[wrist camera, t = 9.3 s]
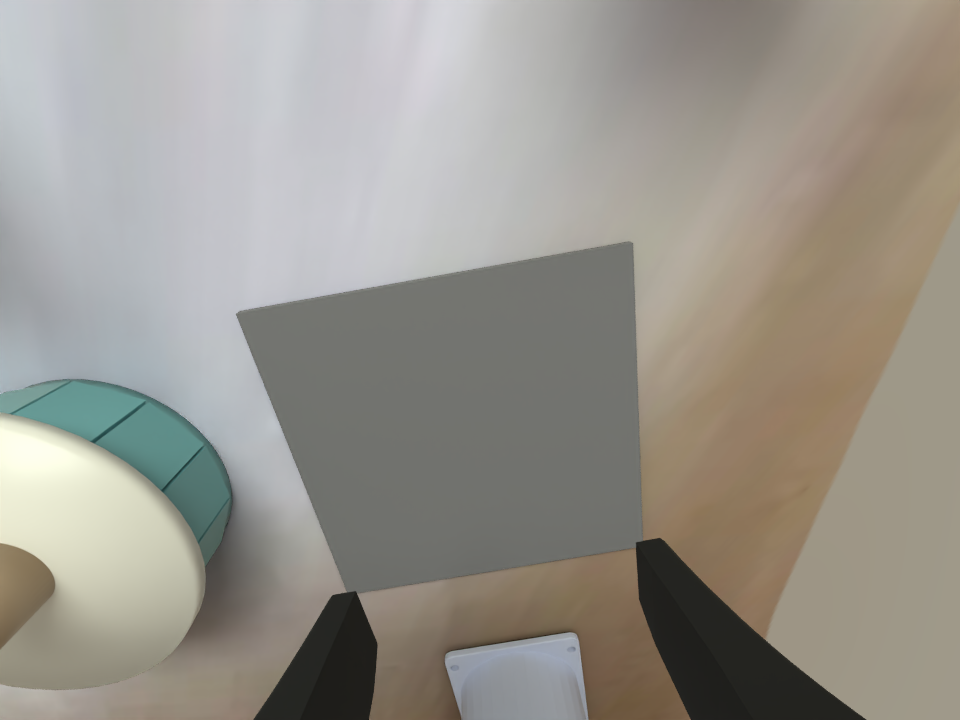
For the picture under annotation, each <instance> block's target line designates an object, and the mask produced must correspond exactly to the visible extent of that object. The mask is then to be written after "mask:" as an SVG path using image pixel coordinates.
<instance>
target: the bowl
mask: <svg viewBox="0 0 960 720" xmlns="http://www.w3.org/2000/svg"><path fill="white" fill-rule="evenodd" d="M0 412H1V413H6V414H11V415H16V416H21V417H25V418H29V419H32V420H36V421H39V422H42V423H46V424H49V425H52V426H55V427H57V428H60V429H62V430H65V431H68V432H70V433H73V434H75V435H78V436H80V437H82V438H84V439H86V440H88V441H90V442H92V443H94V444H96V445H98V446H100V447H102V448H104V449H106V450H107V451H109V452H110V453H112V454H114V455H115V456H117V457H119V458H120V459H122V460H123V461H125V462H127V463H128V464H129V465H131V466H132V467H133V468H135V469H136V470H137V471H139V472H140V473H141V474H143V475H144V476H145V477H147V478H148V479H149V480H150V481H151V482H152V483H153V484H154V485H155V486H156V487H157V488H159V489H160V490H161V491H162V492H163V493H164V494H165V495H166V496H167V497H168V499H169V500H170V501H171V502H172V503H173V504H174V506H175V507H176V508H177V509H178V510H179V511H180V513H181V514H182V516H183V517H184V519H185V520H186V522H187V523H188V525H189V526H190V528H191V530H192V532H193V534H194V536H195V538H196V540H197V542H198V544H199V547H200V550H201V553H202V557H203V560H204V565H205V567H206V565H207V563H208V562H209V560H210V559H211V557H212V556H213V554H214V552H215V551H216V549H217V548H218V546H219V545H220V543H221V541H222V537H223V532H224V529H225V527H226V525H227V523H228V520H229V517H230V514H231V507H232V492H231V486H230V482H229V477H228V475H227V472H226V470H225V467H224V465H223V463H222V461H221V459H220V458H219V456H218V454H217V452H216V451H215V450H214V448H213V447H212V446H211V444H210V443H209V442H208V440H207V439H206V438H205V437H204V436H203V435H202V434H201V433H200V432H199V431H198V430H197V429H196V428H195V427H194V426H193V425H192V424H191V423H189V422H188V421H187V420H186V419H185V418H183V417H182V416H181V415H179V414H178V413H176V412H175V411H173V410H172V409H170V408H169V407H167V406H165V405H164V404H162V403H160V402H158V401H156V400H155V399H153V398H150V397H148V396H146V395H143V394H141V393H139V392H137V391H134V390H131V389H128V388H124V387H121V386H118V385H114V384H109V383H105V382H100V381H91V380H82V379H63V380H55V381H47V382H43V383H39V384H35V385H31V386H29V387H26V388H24V389H20V390H15V391H9V392H4V393H2V394H0Z"/></svg>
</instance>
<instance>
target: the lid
mask: <svg viewBox="0 0 960 720" xmlns="http://www.w3.org/2000/svg"><path fill="white" fill-rule="evenodd" d="M205 585H206V574H205V565H204V560H203V557H202V553H201V550H200V547H199V544H198V542H197V540H196V538H195V536H194V534H193V532H192V530H191V528H190V526H189V525H188V523H187V522H186V520H185V519H184V517H183V516H182V514H181V513H180V511H179V510H178V509H177V508H176V507H175V506H174V504H173V503H172V502H171V501H170V500H169V499H168V497H167V496H166V495H165V494H164V493H163V492H162V491H161V490H160V489H159V488H157V487H156V486H155V485H154V484H153V483H152V482H151V481H150V480H149V479H148V478H147V477H145V476H144V475H143V474H141V473H140V472H139V471H137V470H136V469H135V468H133V467H132V466H131V465H129V464H128V463H127V462H125V461H123V460H122V459H120V458H119V457H117V456H115V455H114V454H112V453H110V452H109V451H107V450H106V449H104V448H102V447H100V446H98V445H96V444H94V443H92V442H90V441H88V440H86V439H84V438H82V437H80V436H78V435H75V434H73V433H70V432H68V431H65V430H62V429H60V428H57V427H55V426H52V425H49V424H46V423H42V422H39V421H36V420H32V419H29V418H25V417H21V416H16V415H11V414H6V413H1V412H0V684H1V685H7V686H12V687H21V688H30V689H46V690H68V689H83V688H91V687H99V686H103V685H108V684H112V683H117V682H120V681H123V680H126V679H129V678H132V677H134V676H137V675H139V674H141V673H143V672H145V671H147V670H149V669H151V668H152V667H154V666H155V665H157V664H159V663H160V662H162V661H163V660H164V659H165V658H166V657H168V656H169V655H170V654H171V653H172V652H173V651H174V650H175V649H176V648H177V646H178V645H179V644H180V643H181V641H182V640H183V639H184V637H185V635H186V634H187V632H188V630H189V629H190V627H191V625H192V623H193V622H194V620H195V618H196V616H197V614H198V612H199V610H200V608H201V605H202V602H203V598H204V595H205Z"/></svg>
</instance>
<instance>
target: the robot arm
mask: <svg viewBox="0 0 960 720" xmlns="http://www.w3.org/2000/svg"><path fill="white" fill-rule="evenodd" d="M636 555H637V572H638V589H639V600H640V603H641V606H642V609H643V612H644V614H645V617H646V620H647V623H648V626H649V628H650V631H651V634H652V637H653V639H654V642H655V644H656V647H657V649H658V651H659V653H660V655H661V657H662V659H663V662H664V664H665V666H666V668H667V670H668V672H669V674H670V676H671V679H672V681H673V683H674V685H675V687H676V689H677V691H678V693H679V695H680V698H681V700H682V702H683V704H684V706H685V708H686V710H687V712H688V714H689V716H690V719H691V720H866V719H865V718H863V717H862V716H861V715H859V714H858V713H856V712H855V711H854V710H852V709H851V708H850V707H848V706H847V705H846V704H844V703H843V702H842V701H840V700H839V699H838V698H836V697H835V696H834V695H832V694H831V693H830V692H828V691H827V690H826V689H824V688H823V687H822V686H820V685H819V684H818V683H817V682H815V681H814V680H813V679H812V678H810V677H809V676H808V675H806V674H805V673H804V672H803V671H801V670H800V669H799V668H798V667H797V666H795V665H794V664H793V663H791V662H790V661H789V660H788V659H787V658H785V657H784V656H783V655H782V654H781V653H779V652H778V651H777V650H776V649H775V648H774V647H772V646H771V645H770V644H769V643H768V642H767V641H766V640H765V639H763V638H762V637H761V636H760V635H759V634H758V633H756V632H755V631H754V630H753V629H752V628H751V627H750V626H749V625H748V624H746V623H745V622H744V621H743V620H742V619H741V618H740V617H739V616H738V615H737V614H736V613H735V612H733V611H732V610H731V609H730V608H729V607H728V606H727V605H726V604H725V603H724V602H723V601H722V600H721V599H720V598H719V597H718V596H717V595H716V594H714V593H713V592H712V591H711V590H710V589H709V588H708V587H707V586H706V585H705V584H704V583H703V582H702V581H701V580H700V579H699V578H698V576H697V575H696V574H695V573H694V572H693V571H692V570H691V569H690V568H689V567H688V566H687V565H686V564H685V563H684V562H683V561H682V560H681V559H680V558H679V557H678V556H677V554H676V553H675V552H674V551H673V550H672V549H671V548H670V547H669V546H668V544H667V543H666V542H665V541H664V540H662V539H661V538H657V539H652V540H646V541H640V542H636ZM376 659H377V641H376V639H375V637H374V634H373V632H372V629H371V627H370V624H369V622H368V619H367V617H366V615H365V612H364V610H363V607H362V605H361V602H360V600H359V597H358V595H357V593H356V591H353V592H347V593H341V594H336V595H332V597H331V598H330V599H329V601H328V603H327V604H326V606H325V608H324V609H323V611H322V613H321V614H320V616H319V618H318V619H317V621H316V623H315V624H314V626H313V628H312V629H311V631H310V633H309V634H308V636H307V638H306V639H305V641H304V643H303V644H302V646H301V647H300V649H299V651H298V652H297V654H296V656H295V657H294V659H293V660H292V662H291V663H290V665H289V667H288V668H287V670H286V671H285V673H284V675H283V676H282V678H281V679H280V681H279V682H278V684H277V686H276V687H275V689H274V690H273V692H272V693H271V695H270V696H269V698H268V699H267V701H266V702H265V703H264V705H263V706H262V708H261V709H260V711H259V712H258V714H257V715H256V717H255V718H254V720H369V715H370V710H371V704H372V698H373V693H374V683H375V672H376ZM445 665H446V669H447V672H448V675H449V678H450V682H451V685H452V688H453V691H454V695H455V698H456V701H457V704H458V708H459V711H460V714H461V718H462V720H588V712H587V704H586V696H585V687H584V679H583V671H582V663H581V655H580V646H579V640H578V637H577V635H576V634H575V633H572V632H568V633H562V634H556V635H549V636H543V637H537V638H531V639H524V640H518V641H512V642H506V643H499V644H493V645H487V646H481V647H474V648H468V649H462V650H456V651H451V652H448V653H447V654H446V655H445Z"/></svg>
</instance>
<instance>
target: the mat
mask: <svg viewBox="0 0 960 720" xmlns="http://www.w3.org/2000/svg"><path fill="white" fill-rule="evenodd" d="M236 315H237V318H238V320H239V323H240V325H241V328H242V330H243V333H244V335H245V338H246V340H247V343H248V345H249V348H250V350H251V353H252V355H253V358H254V360H255V363H256V365H257V368H258V370H259V373H260V375H261V378H262V380H263V383H264V385H265V388H266V390H267V393H268V395H269V398H270V400H271V403H272V405H273V408H274V410H275V413H276V415H277V418H278V420H279V423H280V425H281V428H282V430H283V433H284V435H285V438H286V440H287V443H288V445H289V448H290V450H291V453H292V455H293V458H294V460H295V463H296V465H297V468H298V470H299V473H300V475H301V478H302V480H303V483H304V485H305V488H306V490H307V493H308V495H309V498H310V500H311V503H312V505H313V508H314V510H315V513H316V515H317V518H318V520H319V523H320V525H321V528H322V530H323V533H324V535H325V538H326V540H327V543H328V545H329V548H330V550H331V553H332V555H333V558H334V560H335V563H336V565H337V568H338V570H339V573H340V575H341V578H342V580H343V583H344V585H345V588H346V590H347V592H353V591H356V593H361V592H368V591H374V590H380V589H386V588H392V587H398V586H404V585H410V584H416V583H423V582H429V581H435V580H441V579H447V578H453V577H459V576H465V575H471V574H478V573H484V572H490V571H496V570H502V569H508V568H514V567H520V566H526V565H532V564H539V563H545V562H551V561H557V560H563V559H569V558H575V557H581V556H587V555H594V554H600V553H606V552H612V551H618V550H624V549H630V548H636V542H640V541H643V533H642V503H641V472H640V442H639V412H638V382H637V351H636V321H635V291H634V261H633V243H631V242H624V243H619V244H613V245H607V246H602V247H596V248H591V249H585V250H579V251H574V252H568V253H563V254H557V255H552V256H546V257H540V258H535V259H529V260H524V261H518V262H512V263H507V264H501V265H496V266H490V267H484V268H479V269H473V270H468V271H462V272H456V273H451V274H445V275H440V276H434V277H428V278H423V279H417V280H412V281H406V282H400V283H395V284H389V285H384V286H378V287H372V288H367V289H361V290H356V291H350V292H344V293H339V294H333V295H328V296H322V297H316V298H311V299H305V300H300V301H294V302H288V303H283V304H277V305H272V306H266V307H260V308H255V309H249V310H244V311H240V312H238V313H237V314H236Z"/></svg>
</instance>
